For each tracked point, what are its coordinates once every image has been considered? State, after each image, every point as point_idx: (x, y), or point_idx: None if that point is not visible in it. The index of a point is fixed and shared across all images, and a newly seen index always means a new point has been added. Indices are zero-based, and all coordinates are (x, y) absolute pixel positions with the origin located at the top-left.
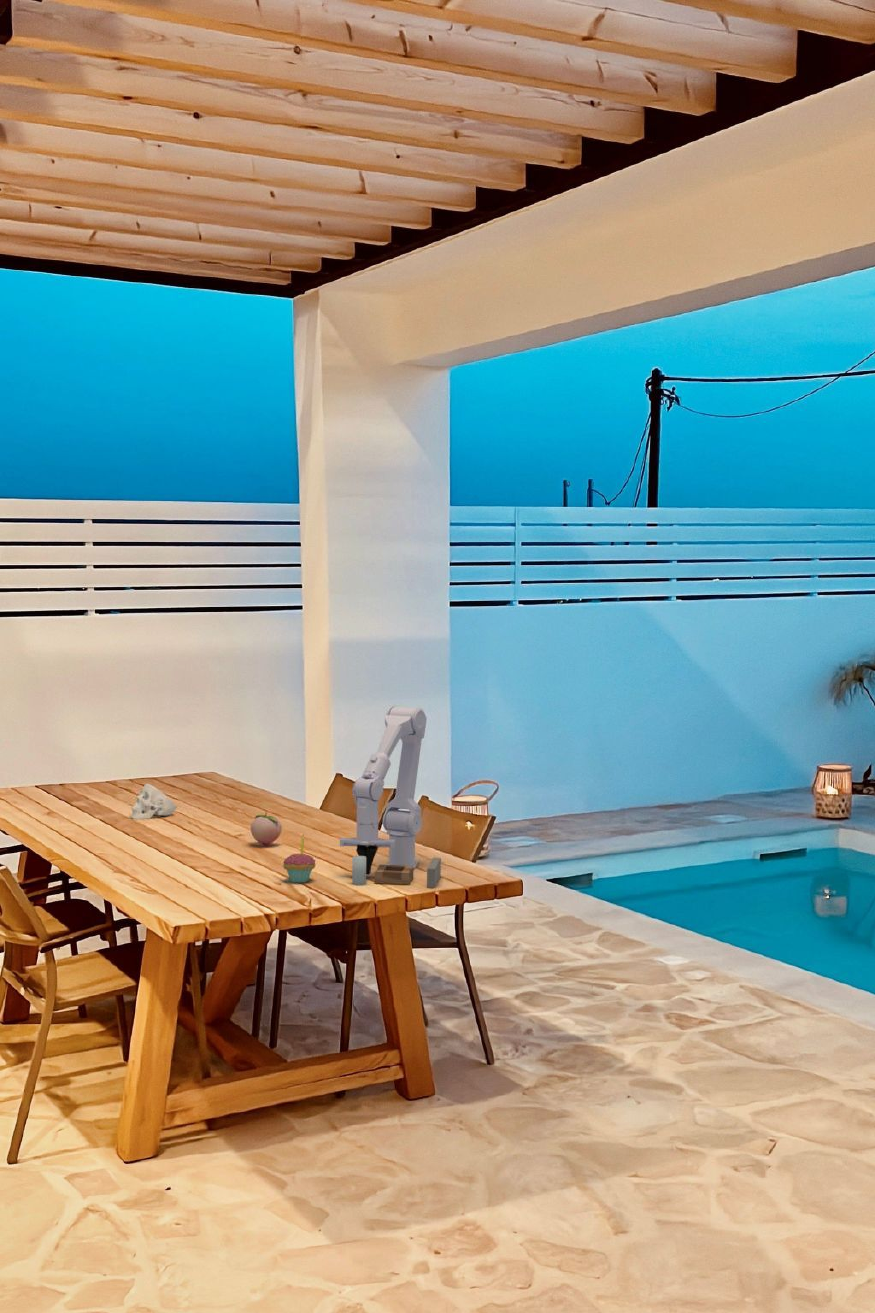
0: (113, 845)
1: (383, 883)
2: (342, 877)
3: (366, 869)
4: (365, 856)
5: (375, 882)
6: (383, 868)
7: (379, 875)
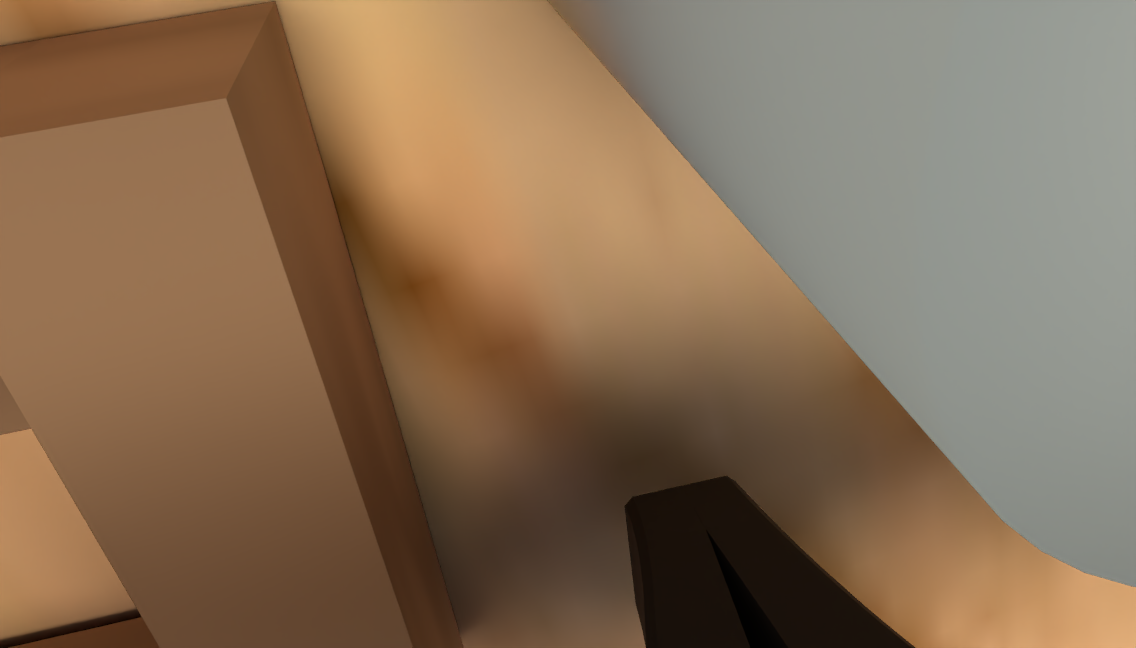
0: None
1: (5, 50)
2: None
3: (720, 573)
4: (1004, 518)
5: (247, 11)
6: (201, 635)
7: (58, 95)
